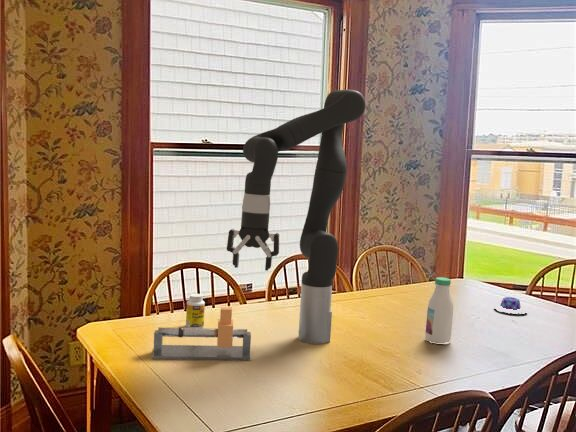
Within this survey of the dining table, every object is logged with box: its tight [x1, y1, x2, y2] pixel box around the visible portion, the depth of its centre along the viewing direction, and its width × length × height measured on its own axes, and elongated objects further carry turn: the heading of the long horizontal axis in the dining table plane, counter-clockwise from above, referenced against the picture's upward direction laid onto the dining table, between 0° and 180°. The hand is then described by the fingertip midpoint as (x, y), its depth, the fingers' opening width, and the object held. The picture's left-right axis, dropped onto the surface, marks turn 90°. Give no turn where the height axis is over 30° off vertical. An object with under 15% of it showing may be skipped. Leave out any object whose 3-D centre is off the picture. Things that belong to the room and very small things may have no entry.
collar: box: [216, 306, 234, 348], centre depth 169 cm, size 4×6×10 cm, turn 6°
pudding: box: [499, 296, 522, 310], centre depth 231 cm, size 12×12×5 cm
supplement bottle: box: [185, 293, 206, 328], centre depth 192 cm, size 6×6×10 cm
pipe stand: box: [151, 326, 252, 361], centre depth 169 cm, size 26×9×7 cm, turn 96°
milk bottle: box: [424, 277, 454, 343], centre depth 190 cm, size 8×8×20 cm
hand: (251, 268), depth 170 cm, fingers open, 8 cm apart
